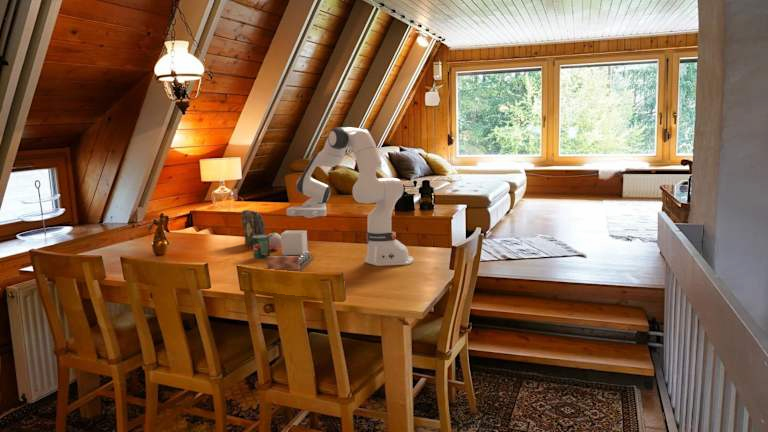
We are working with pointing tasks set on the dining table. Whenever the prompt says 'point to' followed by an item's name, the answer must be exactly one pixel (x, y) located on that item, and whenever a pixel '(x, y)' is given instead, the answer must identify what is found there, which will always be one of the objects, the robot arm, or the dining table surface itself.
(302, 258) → the rollers
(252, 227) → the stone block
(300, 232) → the pale grey cube
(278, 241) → the decorative fruit
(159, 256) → the dining table surface
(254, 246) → the canned tomato
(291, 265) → the roller bed
